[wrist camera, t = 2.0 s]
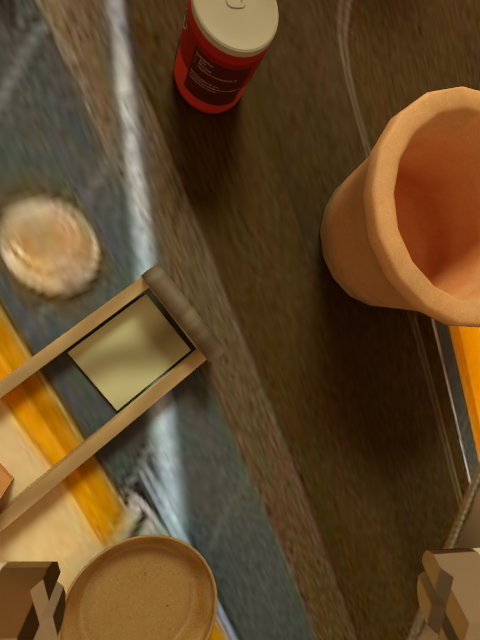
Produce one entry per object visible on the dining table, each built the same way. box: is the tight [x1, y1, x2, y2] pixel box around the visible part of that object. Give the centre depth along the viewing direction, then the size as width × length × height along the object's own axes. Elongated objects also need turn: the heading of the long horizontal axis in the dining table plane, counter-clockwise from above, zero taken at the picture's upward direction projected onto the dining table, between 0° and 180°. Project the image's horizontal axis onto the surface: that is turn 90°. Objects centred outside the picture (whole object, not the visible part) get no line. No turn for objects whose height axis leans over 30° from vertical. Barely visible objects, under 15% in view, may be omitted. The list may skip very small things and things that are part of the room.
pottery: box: [320, 87, 480, 327], centre depth 45 cm, size 22×22×14 cm
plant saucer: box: [57, 535, 217, 640], centre depth 41 cm, size 15×15×3 cm
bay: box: [0, 263, 225, 532], centre depth 38 cm, size 10×32×5 cm, turn 129°
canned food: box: [174, 0, 278, 114], centre depth 40 cm, size 8×8×11 cm
